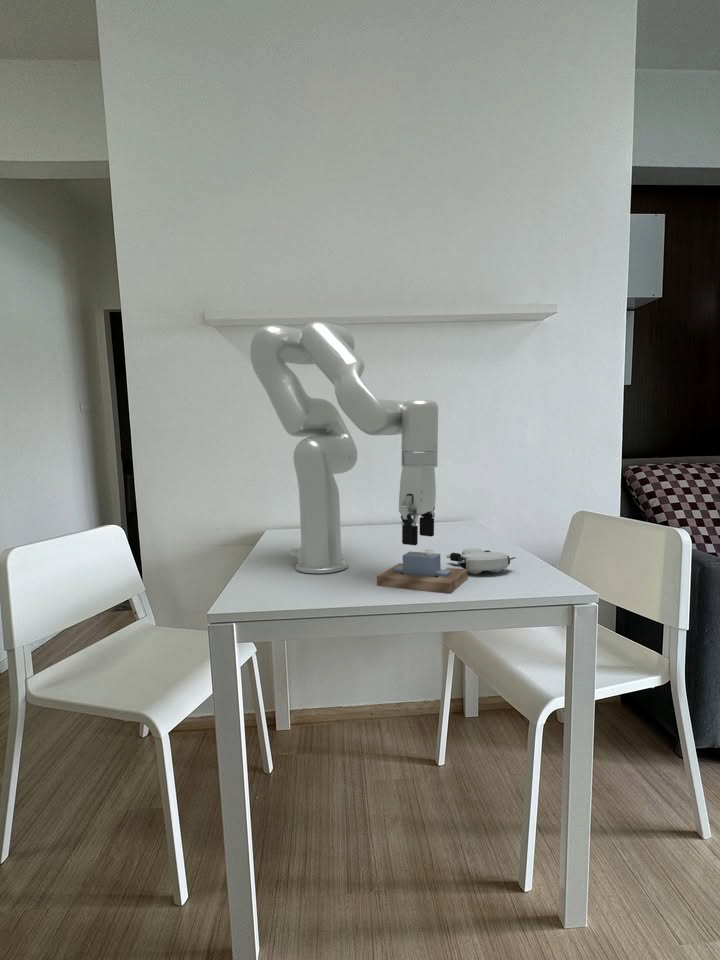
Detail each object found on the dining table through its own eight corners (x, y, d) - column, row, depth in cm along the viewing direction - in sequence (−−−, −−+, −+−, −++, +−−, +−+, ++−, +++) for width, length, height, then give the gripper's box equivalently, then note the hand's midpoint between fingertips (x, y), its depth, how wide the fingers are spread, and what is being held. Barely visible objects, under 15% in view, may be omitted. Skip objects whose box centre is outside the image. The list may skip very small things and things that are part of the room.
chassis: (377, 585, 116) (376, 576, 116) (399, 571, 126) (399, 563, 126) (450, 593, 108) (450, 583, 108) (467, 578, 119) (467, 569, 119)
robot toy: (443, 567, 133) (464, 578, 118) (442, 548, 133) (463, 557, 118) (491, 564, 135) (518, 574, 120) (491, 545, 135) (517, 554, 120)
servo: (392, 581, 119) (391, 549, 118) (400, 577, 122) (399, 546, 121) (445, 587, 113) (445, 554, 112) (452, 582, 116) (451, 550, 116)
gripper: (417, 456, 125) (417, 531, 126) (385, 461, 109) (385, 546, 111) (449, 457, 121) (448, 534, 123) (421, 463, 106) (420, 550, 108)
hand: (418, 540), depth 117 cm, fingers open, 9 cm apart
